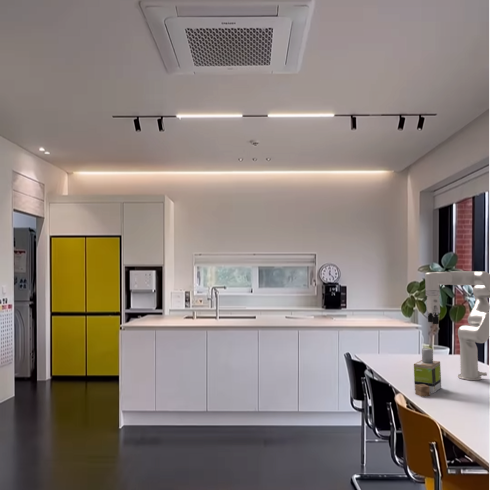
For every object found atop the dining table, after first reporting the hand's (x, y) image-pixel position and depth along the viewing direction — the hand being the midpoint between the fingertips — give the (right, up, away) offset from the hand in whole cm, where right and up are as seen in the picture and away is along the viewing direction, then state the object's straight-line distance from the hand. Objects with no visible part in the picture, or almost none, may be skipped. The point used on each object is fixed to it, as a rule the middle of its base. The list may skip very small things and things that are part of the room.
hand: (433, 323), depth 268 cm
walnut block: (-17, -33, -28) cm, 46 cm away
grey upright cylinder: (-10, -19, -16) cm, 26 cm away
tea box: (-10, -34, -17) cm, 39 cm away
